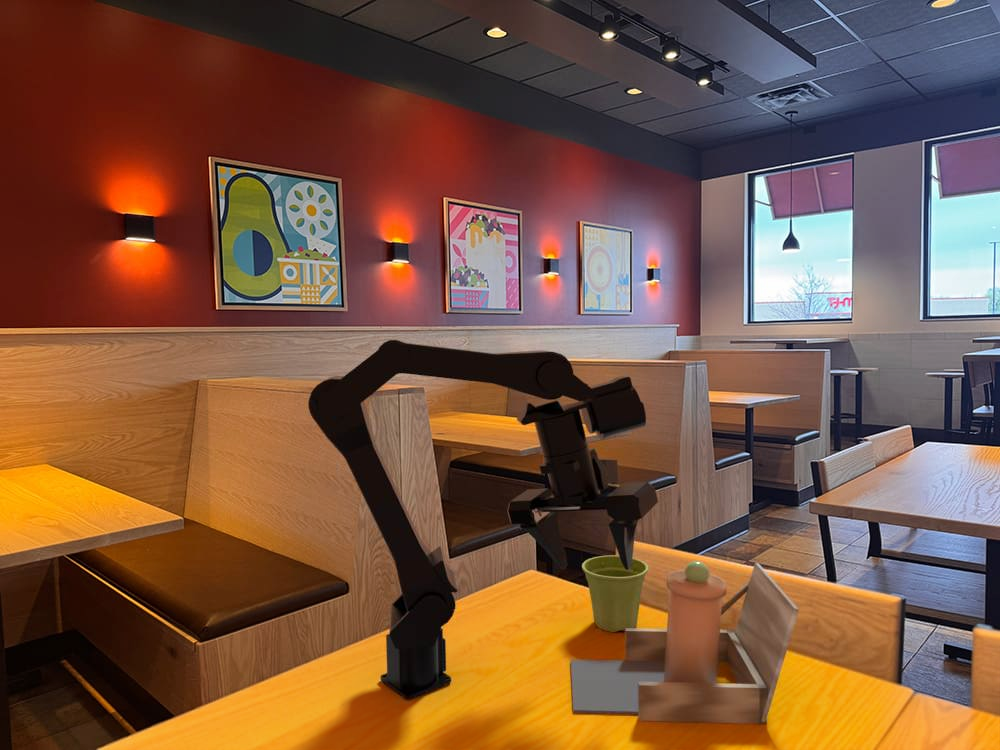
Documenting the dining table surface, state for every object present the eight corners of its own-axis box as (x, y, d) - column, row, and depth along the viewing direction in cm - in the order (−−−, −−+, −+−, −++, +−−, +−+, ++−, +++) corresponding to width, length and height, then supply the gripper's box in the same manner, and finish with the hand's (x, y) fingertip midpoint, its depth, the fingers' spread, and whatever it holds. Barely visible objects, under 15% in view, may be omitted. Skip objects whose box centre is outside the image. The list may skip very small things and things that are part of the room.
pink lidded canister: (697, 708, 79) (706, 575, 78) (648, 683, 84) (656, 558, 83) (730, 690, 83) (739, 564, 82) (682, 667, 88) (690, 548, 87)
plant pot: (630, 644, 95) (629, 581, 95) (570, 627, 101) (570, 568, 100) (659, 621, 103) (659, 562, 102) (602, 606, 108) (602, 551, 108)
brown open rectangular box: (639, 720, 77) (638, 606, 76) (624, 655, 92) (624, 559, 91) (797, 724, 75) (798, 608, 75) (756, 658, 91) (757, 560, 90)
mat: (573, 712, 78) (573, 710, 78) (570, 661, 90) (570, 659, 90) (682, 715, 78) (682, 712, 78) (665, 663, 90) (665, 661, 89)
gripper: (659, 423, 88) (687, 540, 89) (536, 437, 99) (563, 542, 100) (622, 450, 79) (654, 580, 80) (491, 463, 90) (522, 577, 91)
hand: (595, 567), depth 88 cm, fingers open, 9 cm apart
